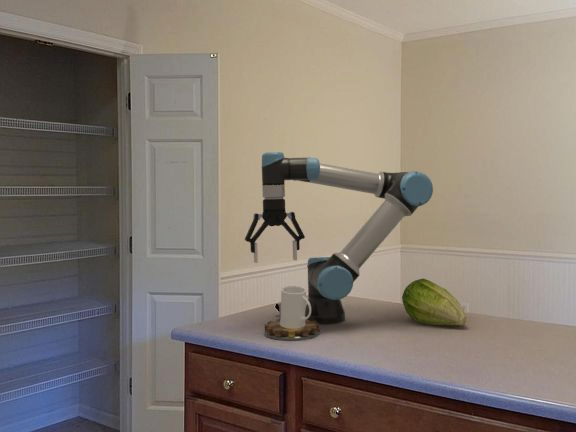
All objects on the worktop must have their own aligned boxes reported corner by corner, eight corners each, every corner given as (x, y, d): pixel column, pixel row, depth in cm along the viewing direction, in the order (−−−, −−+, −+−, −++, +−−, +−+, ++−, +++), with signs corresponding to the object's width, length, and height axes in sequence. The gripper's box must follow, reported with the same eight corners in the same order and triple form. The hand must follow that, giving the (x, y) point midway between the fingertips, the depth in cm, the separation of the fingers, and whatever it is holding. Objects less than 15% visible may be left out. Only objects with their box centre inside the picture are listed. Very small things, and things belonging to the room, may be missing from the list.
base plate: (313, 324, 208) (313, 322, 207) (325, 338, 189) (325, 336, 189) (261, 328, 204) (261, 325, 204) (268, 342, 186) (268, 339, 186)
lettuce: (473, 335, 204) (444, 347, 194) (419, 303, 222) (390, 313, 213) (482, 297, 198) (453, 308, 189) (426, 267, 217) (396, 276, 207)
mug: (317, 328, 191) (319, 293, 189) (298, 334, 186) (300, 298, 183) (293, 317, 200) (294, 284, 198) (274, 323, 194) (275, 288, 192)
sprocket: (330, 332, 193) (329, 308, 193) (280, 340, 184) (280, 315, 184) (302, 320, 209) (301, 299, 209) (255, 328, 200) (255, 305, 200)
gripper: (306, 196, 204) (308, 257, 205) (235, 199, 198) (237, 261, 199) (312, 197, 197) (314, 260, 198) (238, 199, 191) (240, 264, 192)
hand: (275, 261), depth 199 cm, fingers open, 13 cm apart
